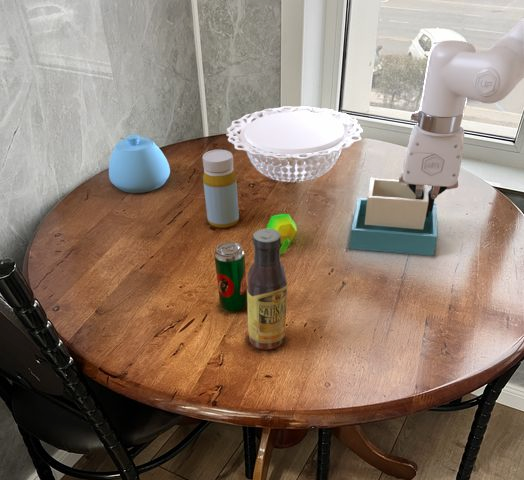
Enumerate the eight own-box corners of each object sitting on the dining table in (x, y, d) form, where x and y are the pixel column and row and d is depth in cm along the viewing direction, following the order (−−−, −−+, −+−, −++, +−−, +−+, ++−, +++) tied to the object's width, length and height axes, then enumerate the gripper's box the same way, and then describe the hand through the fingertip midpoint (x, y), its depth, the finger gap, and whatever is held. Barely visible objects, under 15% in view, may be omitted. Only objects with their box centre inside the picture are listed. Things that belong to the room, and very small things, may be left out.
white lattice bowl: (378, 200, 125) (385, 146, 116) (245, 221, 120) (242, 166, 111) (332, 147, 148) (334, 99, 139) (219, 163, 143) (214, 114, 134)
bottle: (242, 214, 122) (237, 149, 112) (235, 230, 117) (230, 163, 107) (212, 212, 124) (205, 148, 113) (204, 228, 119) (196, 162, 108)
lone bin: (423, 208, 113) (428, 181, 109) (423, 229, 107) (428, 201, 103) (367, 204, 115) (370, 177, 111) (364, 224, 109) (367, 197, 105)
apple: (273, 201, 111) (291, 221, 105) (295, 215, 115) (313, 234, 108) (253, 229, 113) (269, 250, 107) (275, 242, 117) (291, 263, 111)
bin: (432, 221, 117) (436, 203, 114) (433, 256, 107) (437, 236, 104) (355, 216, 120) (357, 197, 117) (349, 248, 110) (351, 229, 107)
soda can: (248, 312, 96) (244, 255, 88) (220, 315, 96) (213, 257, 88) (247, 295, 100) (243, 239, 92) (219, 297, 100) (213, 241, 92)
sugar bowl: (99, 190, 134) (88, 144, 126) (131, 166, 144) (122, 121, 136) (152, 199, 129) (144, 151, 122) (181, 173, 140) (175, 127, 132)
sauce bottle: (261, 357, 88) (256, 252, 74) (241, 336, 92) (233, 233, 78) (294, 342, 90) (295, 238, 77) (274, 322, 94) (271, 220, 81)
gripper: (395, 126, 95) (382, 219, 108) (486, 130, 93) (462, 226, 105) (397, 111, 101) (384, 201, 113) (482, 115, 98) (460, 207, 110)
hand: (422, 213), depth 109 cm, fingers closed on lone bin, 1 cm apart
